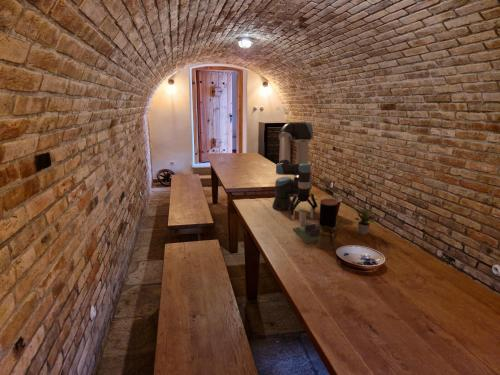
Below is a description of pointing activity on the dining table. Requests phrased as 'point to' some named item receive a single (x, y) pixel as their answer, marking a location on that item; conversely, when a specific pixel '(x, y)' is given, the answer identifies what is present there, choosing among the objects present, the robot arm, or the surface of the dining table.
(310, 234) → the board
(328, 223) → the coffee jar
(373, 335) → the dining table surface
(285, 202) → the robot arm
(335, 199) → the plastic cup
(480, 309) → the dining table surface
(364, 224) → the house plant
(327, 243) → the wooden mug
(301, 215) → the plug
